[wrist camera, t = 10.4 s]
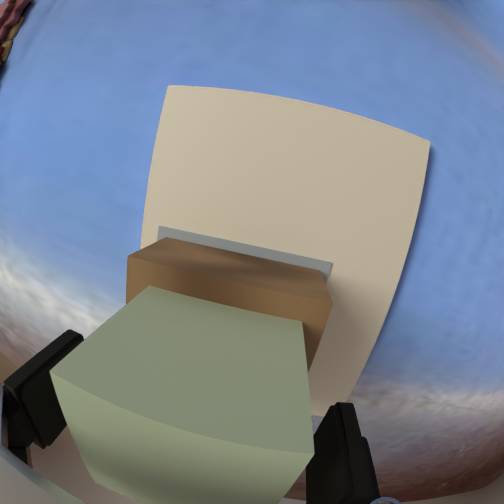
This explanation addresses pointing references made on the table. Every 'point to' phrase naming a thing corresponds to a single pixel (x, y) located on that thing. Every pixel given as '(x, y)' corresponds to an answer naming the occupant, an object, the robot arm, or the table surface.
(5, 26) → the gear puzzle
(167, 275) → the walnut base block
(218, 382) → the sage block
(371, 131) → the cream flat board
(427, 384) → the table surface
